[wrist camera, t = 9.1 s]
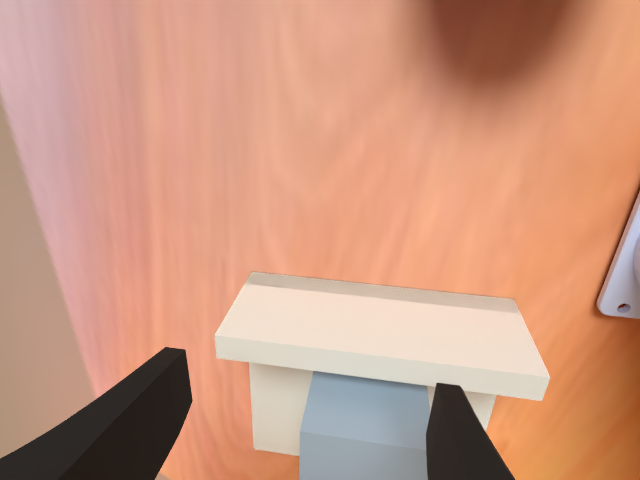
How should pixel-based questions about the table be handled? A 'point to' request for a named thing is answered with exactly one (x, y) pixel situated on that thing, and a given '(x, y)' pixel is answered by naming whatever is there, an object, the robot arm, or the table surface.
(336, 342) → the board
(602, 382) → the table surface
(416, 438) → the block
